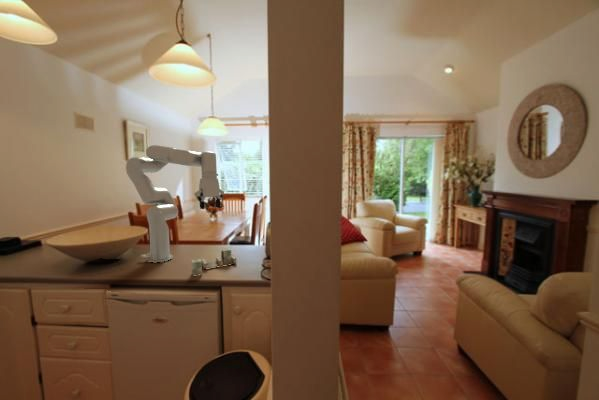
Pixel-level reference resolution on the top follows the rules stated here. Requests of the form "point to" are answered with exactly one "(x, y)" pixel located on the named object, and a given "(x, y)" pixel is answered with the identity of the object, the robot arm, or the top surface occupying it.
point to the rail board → (221, 259)
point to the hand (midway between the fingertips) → (210, 207)
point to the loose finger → (197, 267)
